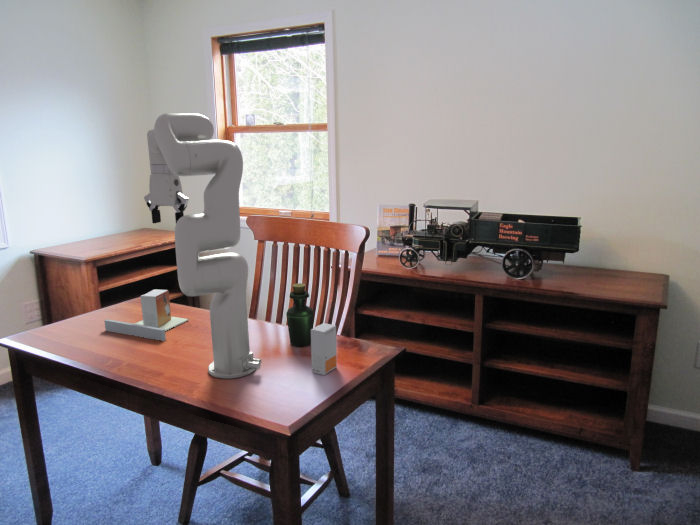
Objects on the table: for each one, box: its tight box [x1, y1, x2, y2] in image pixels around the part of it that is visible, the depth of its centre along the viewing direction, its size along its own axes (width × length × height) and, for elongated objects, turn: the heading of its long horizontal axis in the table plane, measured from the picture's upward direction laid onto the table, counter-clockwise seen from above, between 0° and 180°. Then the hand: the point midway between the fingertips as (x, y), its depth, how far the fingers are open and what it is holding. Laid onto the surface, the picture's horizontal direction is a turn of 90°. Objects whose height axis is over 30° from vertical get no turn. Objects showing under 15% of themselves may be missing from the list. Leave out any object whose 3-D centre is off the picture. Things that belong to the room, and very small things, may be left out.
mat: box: [134, 315, 190, 332], centre depth 182 cm, size 14×14×1 cm
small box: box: [140, 288, 172, 327], centre depth 181 cm, size 8×6×10 cm
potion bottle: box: [286, 282, 315, 348], centre depth 163 cm, size 8×8×18 cm
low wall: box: [103, 319, 167, 342], centre depth 173 cm, size 24×1×4 cm, turn 65°
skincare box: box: [310, 322, 337, 376], centre depth 145 cm, size 6×4×12 cm
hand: (168, 223), depth 177 cm, fingers open, 9 cm apart
